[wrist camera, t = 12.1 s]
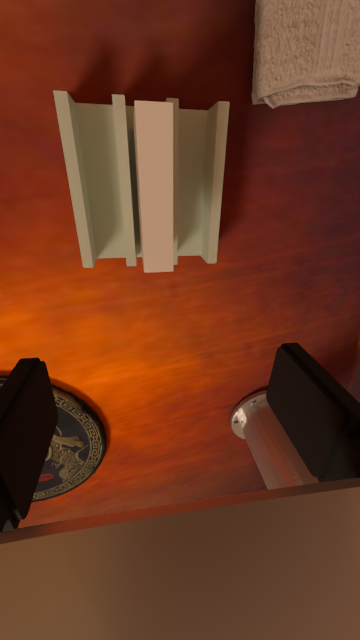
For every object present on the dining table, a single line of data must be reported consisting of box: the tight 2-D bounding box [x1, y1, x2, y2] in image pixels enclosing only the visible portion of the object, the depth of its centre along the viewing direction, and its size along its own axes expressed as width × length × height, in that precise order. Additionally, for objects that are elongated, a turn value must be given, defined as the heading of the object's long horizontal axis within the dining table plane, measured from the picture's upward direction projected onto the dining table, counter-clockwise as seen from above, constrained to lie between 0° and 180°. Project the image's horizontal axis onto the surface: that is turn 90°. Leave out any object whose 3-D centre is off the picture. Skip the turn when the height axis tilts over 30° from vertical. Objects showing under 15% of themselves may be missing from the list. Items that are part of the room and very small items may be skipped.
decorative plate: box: [0, 375, 106, 503], centre depth 42 cm, size 30×2×30 cm
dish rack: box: [53, 91, 230, 268], centre depth 26 cm, size 15×14×4 cm
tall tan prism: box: [133, 100, 173, 272], centre depth 23 cm, size 2×11×10 cm, turn 179°
